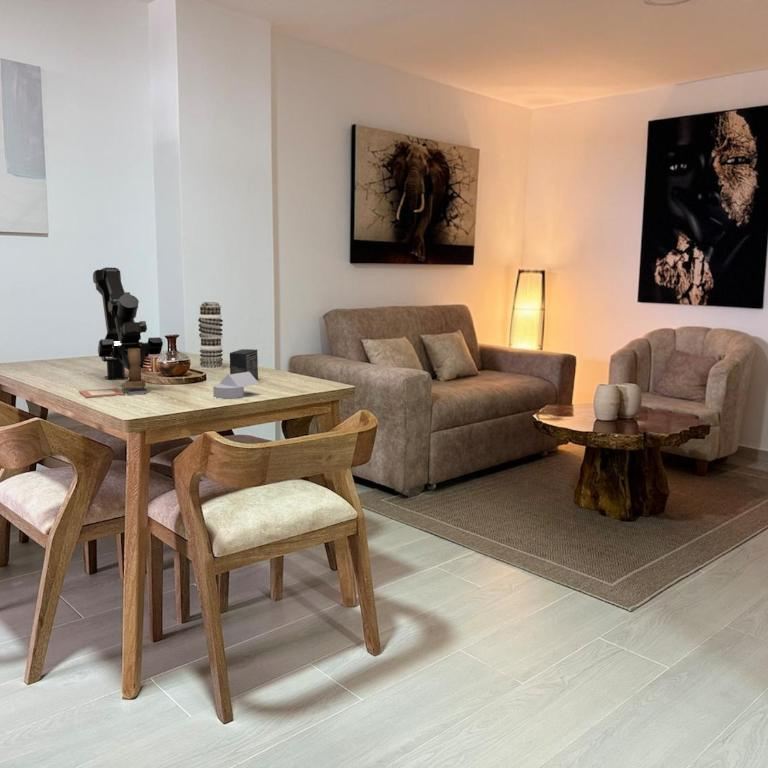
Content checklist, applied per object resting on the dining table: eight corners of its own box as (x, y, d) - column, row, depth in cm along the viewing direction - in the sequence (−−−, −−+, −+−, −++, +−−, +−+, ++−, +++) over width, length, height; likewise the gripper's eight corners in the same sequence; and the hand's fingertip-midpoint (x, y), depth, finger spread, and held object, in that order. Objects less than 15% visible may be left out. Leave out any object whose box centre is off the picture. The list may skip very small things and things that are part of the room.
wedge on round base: (239, 391, 232) (207, 396, 221) (239, 370, 231) (206, 374, 220) (259, 394, 226) (227, 400, 216) (259, 373, 225) (226, 378, 215)
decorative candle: (198, 370, 273) (197, 303, 268) (199, 366, 281) (197, 301, 277) (223, 369, 275) (222, 303, 271) (223, 366, 284) (222, 301, 279)
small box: (241, 378, 256) (240, 348, 255) (258, 379, 255) (258, 349, 253) (229, 382, 246) (228, 352, 244) (247, 383, 245) (246, 353, 243)
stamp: (129, 386, 228) (127, 347, 225) (145, 386, 228) (144, 347, 226) (124, 389, 223) (123, 349, 220) (141, 389, 223) (139, 349, 221)
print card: (79, 392, 224) (79, 390, 224) (116, 389, 230) (116, 388, 230) (86, 398, 215) (86, 396, 215) (124, 395, 221) (124, 393, 221)
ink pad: (122, 391, 227) (122, 387, 227) (142, 389, 230) (141, 385, 230) (128, 395, 221) (128, 391, 220) (148, 393, 224) (148, 389, 224)
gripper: (97, 312, 220) (106, 353, 212) (160, 311, 229) (170, 350, 222) (94, 336, 228) (102, 376, 220) (155, 334, 237) (164, 372, 230)
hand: (135, 368), depth 223 cm, fingers closed on stamp, 4 cm apart
